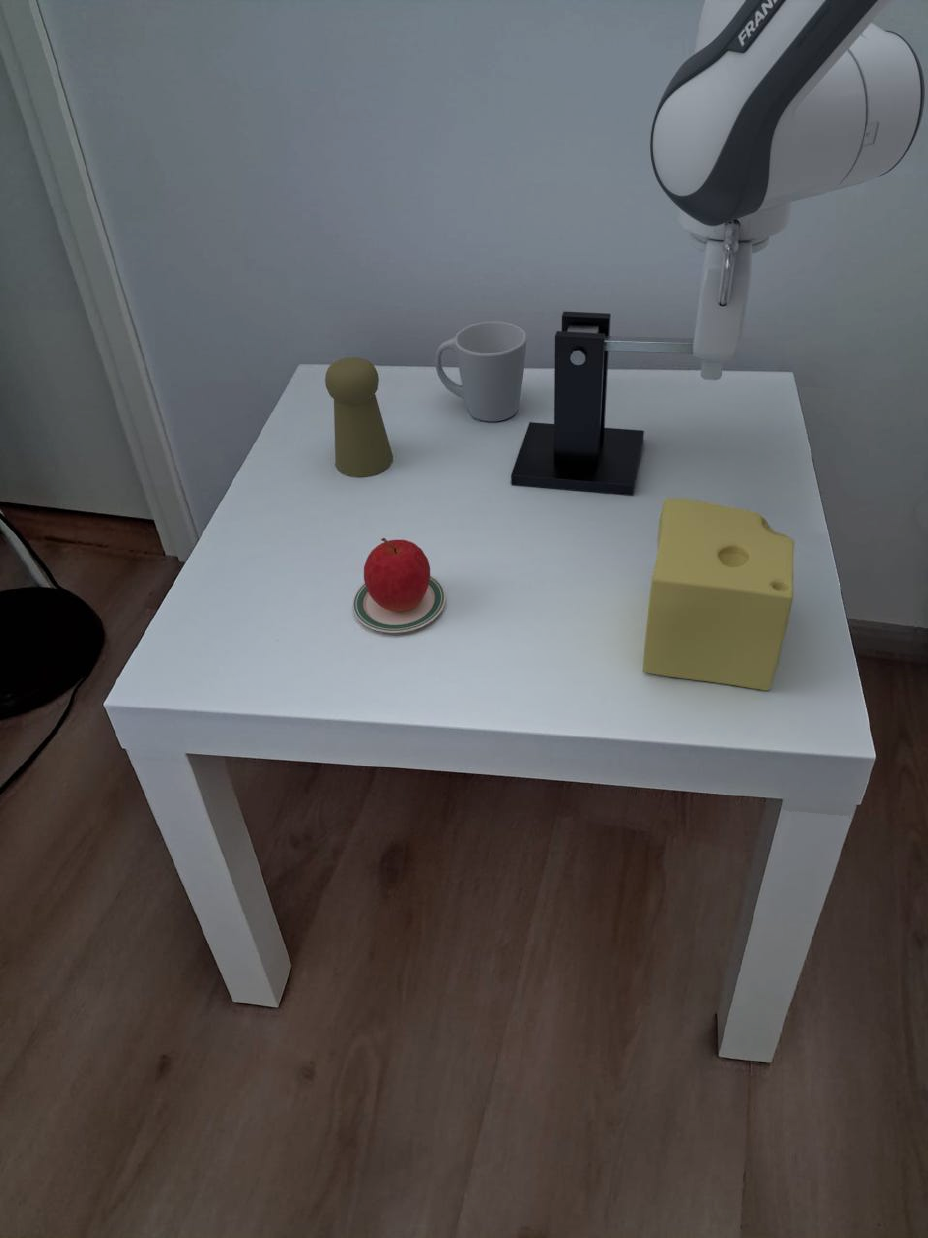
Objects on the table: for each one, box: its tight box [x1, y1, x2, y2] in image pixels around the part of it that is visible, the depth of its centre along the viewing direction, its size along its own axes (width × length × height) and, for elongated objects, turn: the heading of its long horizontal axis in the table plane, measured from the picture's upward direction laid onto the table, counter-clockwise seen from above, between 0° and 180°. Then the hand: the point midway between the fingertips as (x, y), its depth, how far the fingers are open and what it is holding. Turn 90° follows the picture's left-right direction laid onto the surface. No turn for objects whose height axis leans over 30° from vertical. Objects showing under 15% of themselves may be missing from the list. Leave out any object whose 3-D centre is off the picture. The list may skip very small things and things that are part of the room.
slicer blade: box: [567, 325, 694, 355], centre depth 85 cm, size 14×5×2 cm, turn 77°
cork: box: [324, 356, 394, 478], centre depth 94 cm, size 6×6×11 cm
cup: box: [434, 321, 528, 423], centre depth 101 cm, size 8×10×8 cm
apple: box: [352, 537, 447, 634], centre depth 78 cm, size 8×8×6 cm
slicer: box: [510, 310, 645, 497], centre depth 90 cm, size 12×10×15 cm
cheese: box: [642, 497, 795, 692], centre depth 72 cm, size 10×11×10 cm
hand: (712, 358), depth 84 cm, fingers closed on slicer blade, 5 cm apart
